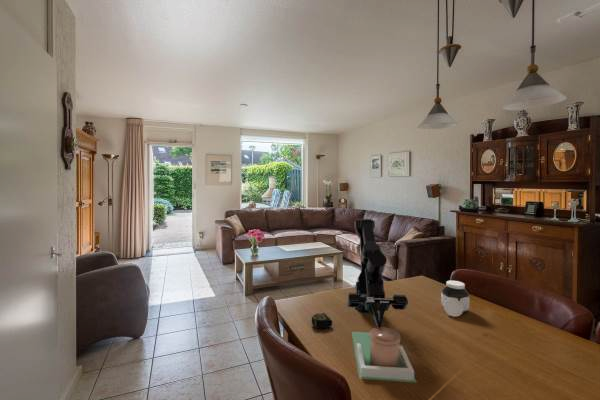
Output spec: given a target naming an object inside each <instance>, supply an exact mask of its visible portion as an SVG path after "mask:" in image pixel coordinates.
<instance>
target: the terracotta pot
mask: <svg viewBox="0 0 600 400" xmlns="http://www.w3.org/2000/svg"><path fill="white" fill-rule="evenodd" d="M369 333H370V365H371V366H382V367H398V368H399V344H400V342H401V335H400V333H399V332H398V331H396V330H394V329H392V328H389V327H383V326H381V327H377V326H376V327H373V328H371V329H370V331H369Z"/></svg>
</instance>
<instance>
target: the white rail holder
mask: <svg viewBox="0 0 600 400" xmlns="http://www.w3.org/2000/svg"><path fill="white" fill-rule="evenodd" d="M357 357H358V362H359V368H360V374H361V377H371V378H386V379H400V380H414V377H415V369H414V368H413V366H412V364H411V361H410V359H409V357H408V355H407V352H406V351H405V349H404V347H403V345H400V346H399V357H400V359H401V361H402V364H403V366H404V368H398V367H382V366H366V365H365V362H364V358H363V353H362V348H361V344H359V343H357Z"/></svg>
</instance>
